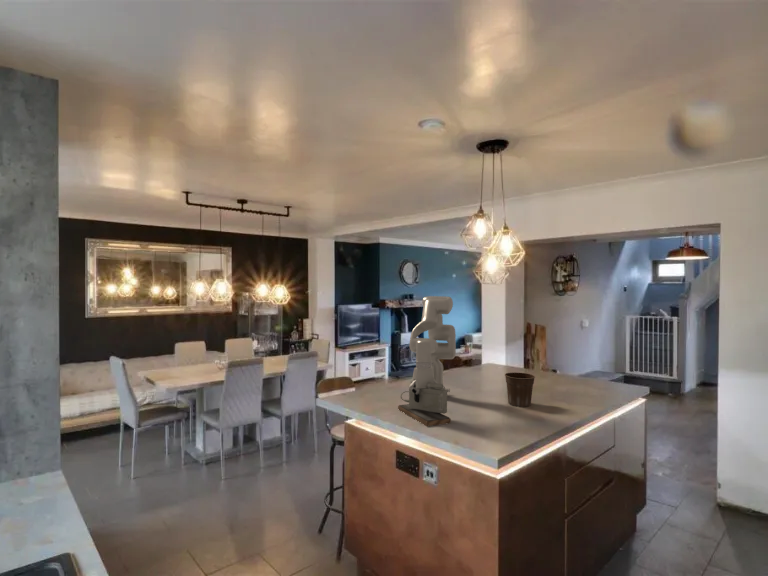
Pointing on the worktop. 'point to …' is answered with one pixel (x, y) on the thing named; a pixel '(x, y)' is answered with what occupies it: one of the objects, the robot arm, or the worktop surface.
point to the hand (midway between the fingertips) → (423, 400)
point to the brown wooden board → (425, 416)
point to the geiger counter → (429, 398)
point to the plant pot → (519, 388)
